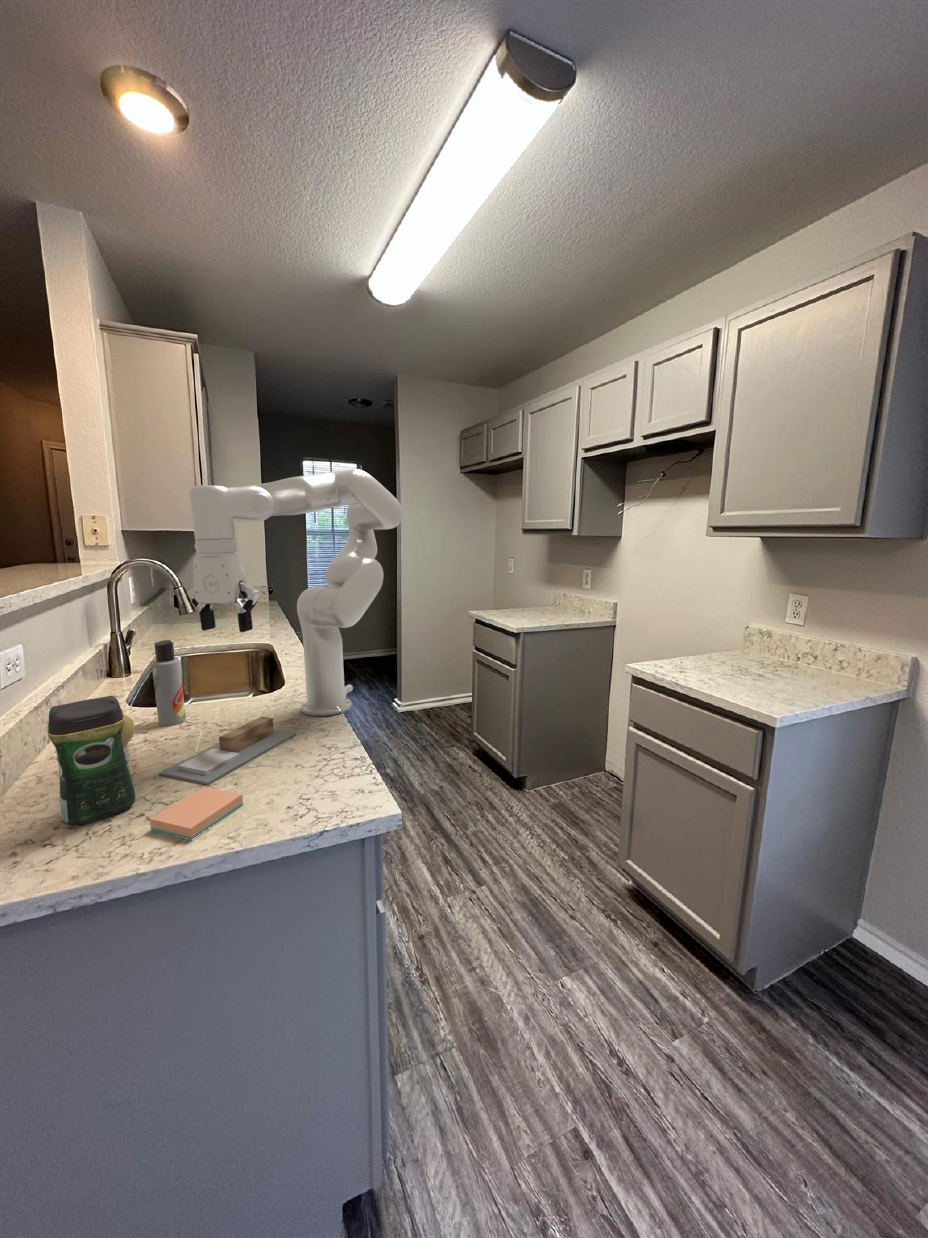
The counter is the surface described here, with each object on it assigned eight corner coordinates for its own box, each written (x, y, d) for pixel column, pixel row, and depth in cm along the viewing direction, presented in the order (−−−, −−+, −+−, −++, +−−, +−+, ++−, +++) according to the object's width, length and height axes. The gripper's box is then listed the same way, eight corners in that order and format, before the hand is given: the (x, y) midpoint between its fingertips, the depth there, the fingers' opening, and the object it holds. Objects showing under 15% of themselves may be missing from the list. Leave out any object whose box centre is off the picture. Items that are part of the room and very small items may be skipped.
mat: (253, 728, 113) (253, 726, 113) (296, 734, 109) (296, 732, 109) (159, 775, 90) (158, 772, 90) (208, 785, 86) (207, 782, 86)
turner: (256, 730, 110) (254, 715, 109) (281, 734, 108) (280, 719, 107) (178, 769, 91) (176, 751, 91) (206, 775, 89) (204, 756, 89)
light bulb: (94, 773, 91) (87, 723, 90) (104, 760, 97) (97, 712, 95) (134, 767, 94) (128, 718, 92) (141, 754, 100) (135, 707, 98)
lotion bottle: (191, 718, 120) (182, 638, 117) (175, 726, 114) (166, 643, 111) (169, 717, 120) (160, 638, 117) (153, 726, 115) (143, 643, 112)
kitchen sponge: (204, 787, 82) (149, 819, 73) (242, 794, 79) (190, 828, 70) (205, 800, 82) (151, 833, 73) (243, 807, 80) (192, 843, 71)
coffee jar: (131, 791, 85) (118, 688, 82) (139, 809, 79) (125, 699, 76) (59, 812, 78) (42, 701, 75) (63, 833, 72) (45, 715, 70)
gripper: (168, 549, 98) (180, 632, 101) (238, 548, 93) (248, 635, 96) (198, 547, 105) (208, 625, 108) (264, 546, 100) (273, 627, 103)
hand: (227, 630), depth 102 cm, fingers open, 9 cm apart
